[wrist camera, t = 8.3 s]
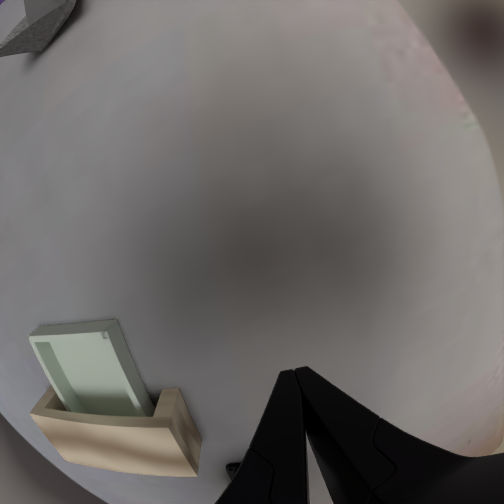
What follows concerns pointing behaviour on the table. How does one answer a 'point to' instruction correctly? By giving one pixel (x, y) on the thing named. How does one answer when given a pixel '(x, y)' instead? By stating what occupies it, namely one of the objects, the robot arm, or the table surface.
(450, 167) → the table surface
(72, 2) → the paper boat
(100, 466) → the wooden block
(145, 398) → the tray
